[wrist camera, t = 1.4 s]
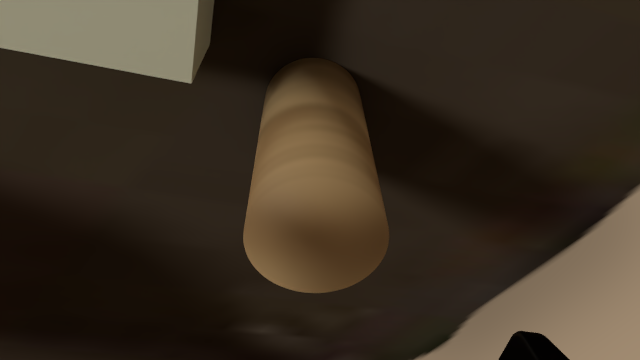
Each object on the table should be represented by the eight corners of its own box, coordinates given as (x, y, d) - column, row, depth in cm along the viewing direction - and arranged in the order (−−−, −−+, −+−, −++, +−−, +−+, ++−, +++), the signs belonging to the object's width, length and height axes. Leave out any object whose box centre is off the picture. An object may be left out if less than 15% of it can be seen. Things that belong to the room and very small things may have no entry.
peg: (347, 152, 21) (367, 301, 14) (258, 136, 20) (234, 282, 14) (371, 68, 19) (407, 193, 12) (273, 48, 18) (254, 167, 12)
